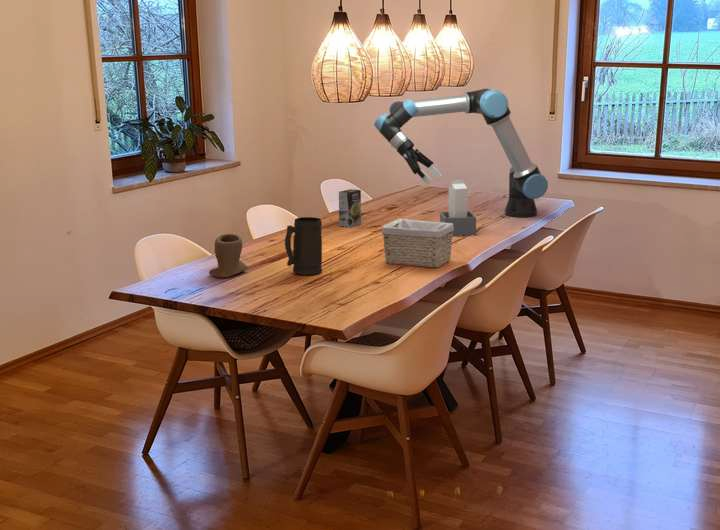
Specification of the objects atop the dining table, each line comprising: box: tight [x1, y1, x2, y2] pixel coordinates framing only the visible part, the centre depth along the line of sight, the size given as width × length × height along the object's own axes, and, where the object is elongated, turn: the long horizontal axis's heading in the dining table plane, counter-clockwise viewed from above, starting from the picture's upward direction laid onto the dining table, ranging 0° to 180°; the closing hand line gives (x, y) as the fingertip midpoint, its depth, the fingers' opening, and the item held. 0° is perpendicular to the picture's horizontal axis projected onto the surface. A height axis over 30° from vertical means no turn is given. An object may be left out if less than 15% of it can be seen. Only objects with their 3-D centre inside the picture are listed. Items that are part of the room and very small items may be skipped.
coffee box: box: [338, 188, 362, 228], centre depth 390 cm, size 9×6×16 cm
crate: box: [439, 210, 477, 237], centre depth 372 cm, size 14×14×8 cm
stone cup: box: [208, 233, 249, 278], centre depth 312 cm, size 15×12×15 cm
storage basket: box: [381, 218, 454, 268], centre depth 324 cm, size 24×16×15 cm
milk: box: [448, 179, 468, 218], centre depth 370 cm, size 6×6×22 cm
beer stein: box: [284, 216, 323, 276], centre depth 310 cm, size 15×11×20 cm
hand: (434, 179), depth 371 cm, fingers open, 13 cm apart
